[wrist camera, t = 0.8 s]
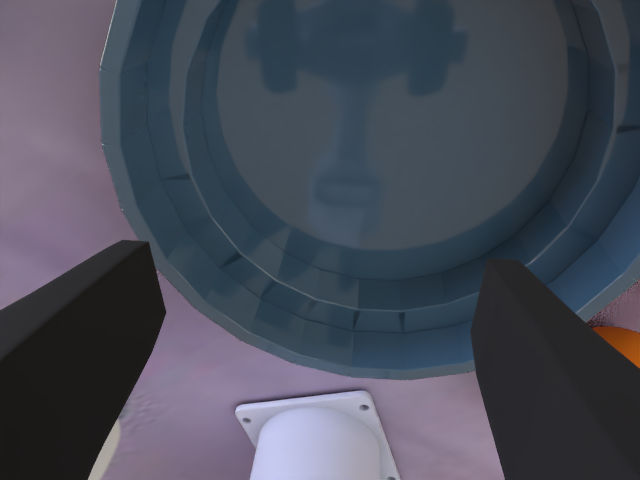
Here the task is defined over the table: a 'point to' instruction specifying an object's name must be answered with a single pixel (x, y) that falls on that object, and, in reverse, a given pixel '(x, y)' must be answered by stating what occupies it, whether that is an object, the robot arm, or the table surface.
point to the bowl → (375, 164)
